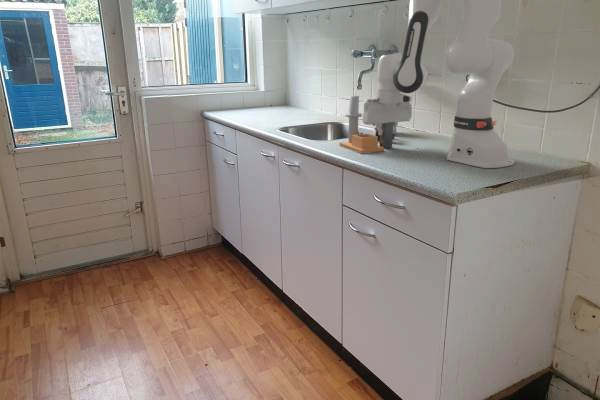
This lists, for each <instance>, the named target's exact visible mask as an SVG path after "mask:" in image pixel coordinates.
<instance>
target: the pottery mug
mask: <svg viewBox="0 0 600 400" xmlns="http://www.w3.org/2000/svg"><path fill="white" fill-rule="evenodd" d="M375 130H376V132H375V135H374V136H378V142H379V143H380V135H378V129H377V127H376V128H375V127H374V131H375ZM395 134H396V133H394V134H393V140H395V137H396V135H395Z"/></svg>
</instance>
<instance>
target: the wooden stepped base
mask: <svg viewBox="0 0 600 400" xmlns="http://www.w3.org/2000/svg"><path fill="white" fill-rule="evenodd" d="M359 103H360V96H359V95H349V108H348V113H347V112H346V113H345V117H347V118H348V141H343V142H342V141H341V142H339V146H340V147H342V148H344V149H345V148H346V150H347V149H348V150H351V151H353V152H355V151H356V152H355V153H358V154H361V153H362V154H369V153H370V154H371V153H377V152H384V151H385V149H384V148H383V147H380V146H379V145H378V142H379V141H378V136H375V135H374V134H370V133H360V134H359V118H361V117H362V118H363V113H360V112H359V111H360V110H359V109H360V107H359V106H360V105H359Z"/></svg>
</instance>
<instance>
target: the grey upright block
mask: <svg viewBox="0 0 600 400" xmlns="http://www.w3.org/2000/svg"><path fill="white" fill-rule="evenodd" d="M393 123H394V122H389V123H382V126H381V129H382V130H384V135H380V142H379V145H378V146H380V147H383V148H384V150H387V149H392V148H393V140H394V139H393Z"/></svg>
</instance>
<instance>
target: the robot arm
mask: <svg viewBox="0 0 600 400" xmlns="http://www.w3.org/2000/svg"><path fill="white" fill-rule="evenodd" d="M443 3H444V0H409V4H408V5H409V6H408V21H407V31H406V38H405V42H404V45H403V51H402V52H400V51H394V52H389V53H385V54H382V55H381V56H380V57H379V60H378V63H377V71H376V72H377V73H376V79H377V87H376V93H375V94H376V95H375V96H376V98H368V99H367V100H366V101H364V103H363V113H362V123H363V124H364V125H368V126H370V125H375V124H376V127H377V129H378V135H384V130H382V129H381V126H382V123H389V122H394V123H393V134H394V133H395V129H396V130H397V127H398V124H399V123H401V122H402V123H404V122H410V120H411V119H412V115H413V114H412V112H413V109H412V108H413V107H412V104H411V102H412V96H410V95H407V94H411V93H415V92H416V91H417V90H418V89H420V88H421V87H423V86H424V85H425V84H426V83H427V81H428V78H429V71H428V70H429V69H428V68H427V67H426V66H425V64H423V63H422V56H423V51H424V47H425V42H426V38H427V35H428V32H429V30H430V29H431V27H432V26H433V25H434V24H435V23H436V22H437V20H438V19H439V16H440V14H441V11H442V8H443ZM501 9H502V0H463V9H462V10H463V11H462V21H461V26H460V28H459V31H458V33H457V36H456V37H455V39H454V41H453V42H452V43H451V44H450V45H448V47H447V49H446V52H445V55H444V64H445V66H446V68H447V70H448V71H450V72H451V73H454V74H457V75H462V76H469V78H468V80H467V82H466V84H465V85H464V86H463V88H461V90H460V91H459V92H458V95H457V102H456V103H457V104H456V113H455V116H454V117H453V118H454V120H453V127H454V129H453V132H452V137H451V140H450V146H449V149H448V153H447V155H446V160H447V161H450V162H454V163H458V164H459V163H461V164H465V165H470V166H474V167H478V168H482V169H494V168H495V169H498V168H504V167H505V168H506V167H509V166H512V165H514V164H515V160H514V159H511V158H510V157H509V158H508V156H509V155H508V151H509V149H508V145H507V143H506V142H505V141H504V140H503V139H502V138H501V137H500V136H499V134H498V133H497V132H496V130H494V129H495V128H494V126H496V125H497V122H498V121H497V120H494V121H493V119H492V116H491V115H492V108H493V104H494V103H493V101H494V96H495V92H496V89H497V86H498V84H499V82H500V80H501V78H502V75H503V74H504V73H505V71H506V70H507V69H508V68H509V67H510V66H511V65H512V63H513V61H514V58H515V52H514V48H513V46H512V45H511V43H509V42H507V41H505V40H502V39H498V38H489V35H490V33H491V30H492V27H493V26H494V24H495V23H496V22H498V21H499V19H500V17H501V11H502V10H501ZM395 134H396V133H395Z"/></svg>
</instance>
